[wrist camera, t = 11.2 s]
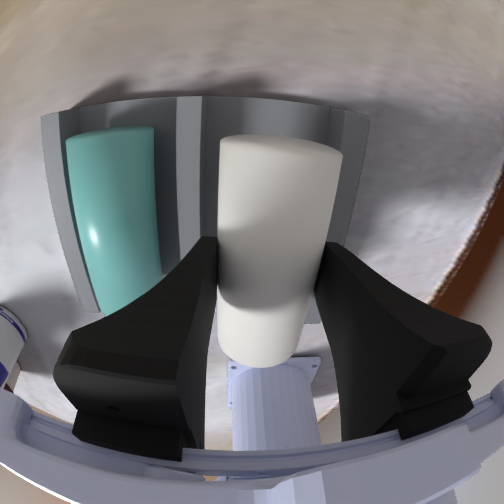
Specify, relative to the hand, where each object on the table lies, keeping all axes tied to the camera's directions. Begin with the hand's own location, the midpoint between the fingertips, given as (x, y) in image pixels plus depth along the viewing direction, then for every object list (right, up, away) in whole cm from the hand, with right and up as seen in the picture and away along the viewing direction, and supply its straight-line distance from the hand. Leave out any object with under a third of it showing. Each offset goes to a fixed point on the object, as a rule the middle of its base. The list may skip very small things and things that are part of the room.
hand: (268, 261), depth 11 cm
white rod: (-1, +1, +2) cm, 2 cm away
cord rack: (-4, +3, +4) cm, 6 cm away
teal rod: (-7, +3, +3) cm, 8 cm away
